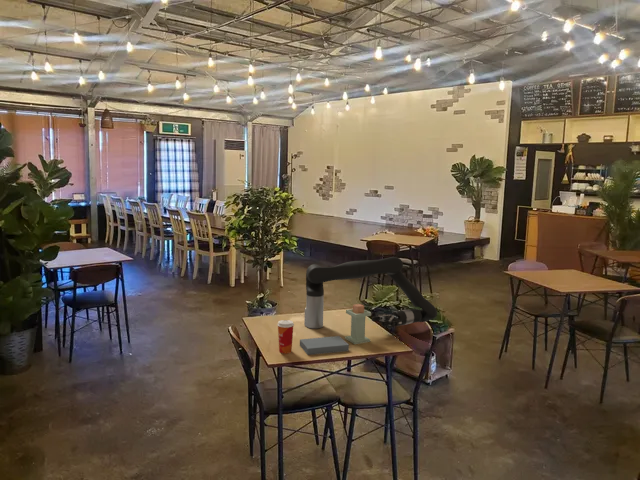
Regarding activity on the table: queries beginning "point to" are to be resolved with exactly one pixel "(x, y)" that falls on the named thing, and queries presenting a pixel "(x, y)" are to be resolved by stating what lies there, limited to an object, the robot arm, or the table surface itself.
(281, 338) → the paper cup
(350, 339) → the green pedestal
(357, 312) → the cube
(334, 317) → the table surface
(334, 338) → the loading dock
